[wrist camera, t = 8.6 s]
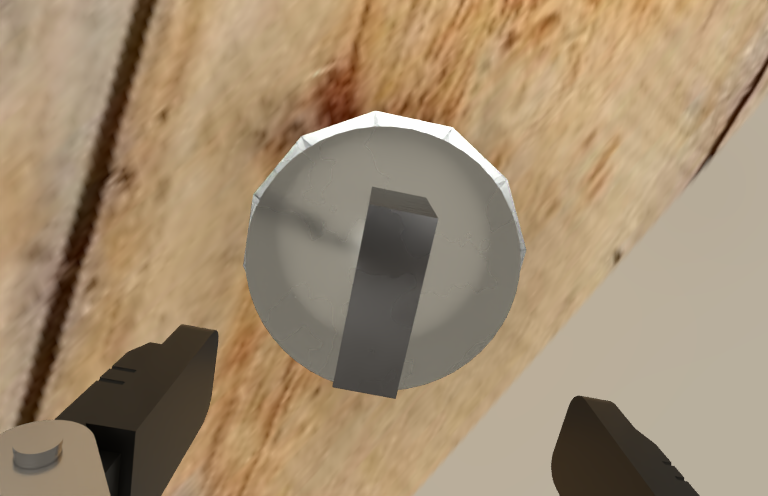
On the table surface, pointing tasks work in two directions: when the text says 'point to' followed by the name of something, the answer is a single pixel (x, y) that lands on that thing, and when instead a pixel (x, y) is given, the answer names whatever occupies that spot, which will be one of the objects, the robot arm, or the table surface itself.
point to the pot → (402, 122)
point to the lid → (382, 259)
